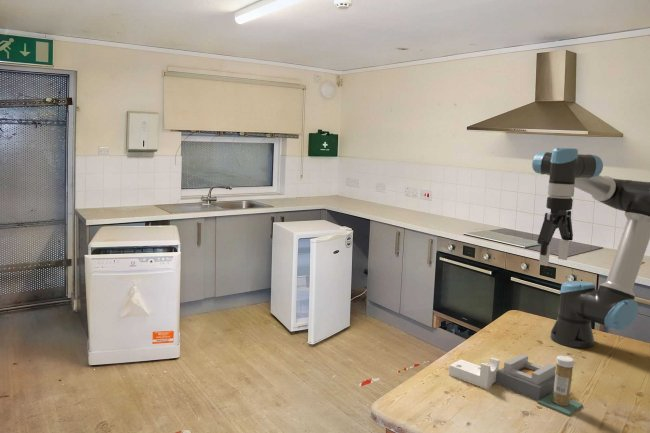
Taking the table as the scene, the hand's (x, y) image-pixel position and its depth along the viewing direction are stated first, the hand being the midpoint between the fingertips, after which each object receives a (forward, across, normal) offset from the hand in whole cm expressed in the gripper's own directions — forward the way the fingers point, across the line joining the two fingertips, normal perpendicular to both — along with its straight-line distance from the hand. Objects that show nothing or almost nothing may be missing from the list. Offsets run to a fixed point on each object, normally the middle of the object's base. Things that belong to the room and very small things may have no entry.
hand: (553, 262), depth 175 cm
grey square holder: (+36, +16, +3) cm, 40 cm away
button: (+35, +16, +3) cm, 39 cm away
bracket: (+37, +26, -10) cm, 46 cm away
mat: (+36, +20, +15) cm, 44 cm away
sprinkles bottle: (+36, +20, +15) cm, 44 cm away
